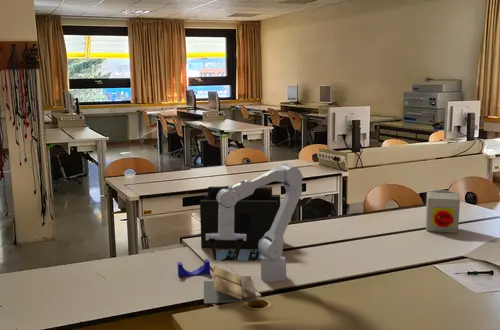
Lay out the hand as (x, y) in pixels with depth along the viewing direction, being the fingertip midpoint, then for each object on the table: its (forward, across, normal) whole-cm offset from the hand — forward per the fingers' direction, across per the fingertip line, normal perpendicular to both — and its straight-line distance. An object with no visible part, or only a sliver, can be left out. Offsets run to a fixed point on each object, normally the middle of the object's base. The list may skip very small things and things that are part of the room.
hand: (225, 259), depth 193 cm
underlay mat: (+11, +2, -5) cm, 12 cm away
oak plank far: (+7, 0, 0) cm, 7 cm away
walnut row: (+10, +8, -5) cm, 13 cm away
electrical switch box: (+6, +104, +65) cm, 123 cm away
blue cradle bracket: (+11, -12, +13) cm, 21 cm away
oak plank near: (+7, +1, -10) cm, 13 cm away
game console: (+10, +6, +44) cm, 45 cm away
